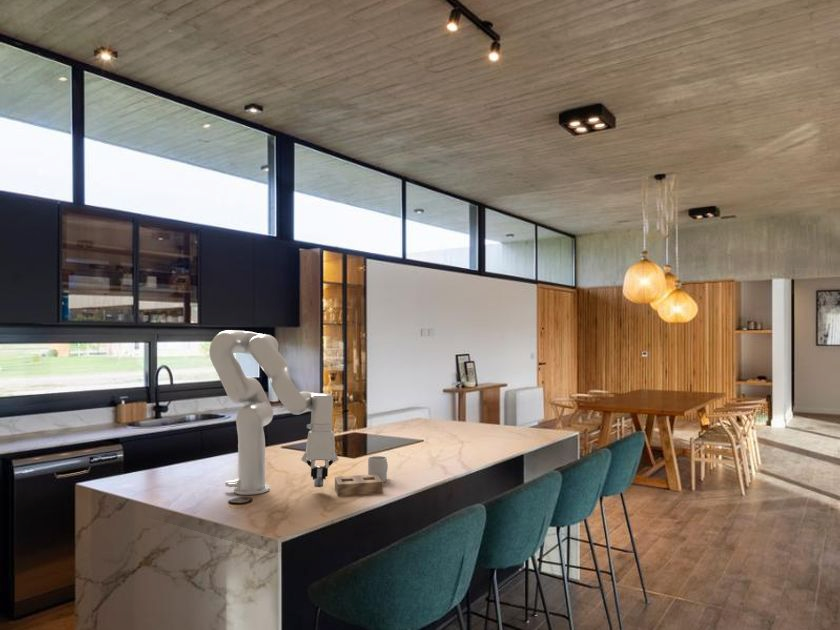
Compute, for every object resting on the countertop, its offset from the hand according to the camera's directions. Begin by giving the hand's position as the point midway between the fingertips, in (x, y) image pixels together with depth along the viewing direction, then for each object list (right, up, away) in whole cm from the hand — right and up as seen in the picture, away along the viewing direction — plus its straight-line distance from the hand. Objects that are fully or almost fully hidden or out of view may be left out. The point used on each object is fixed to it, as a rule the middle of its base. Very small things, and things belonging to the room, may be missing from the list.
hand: (319, 478), depth 222 cm
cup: (+21, -6, +18) cm, 28 cm away
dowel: (0, -3, 0) cm, 3 cm away
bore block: (+14, -5, +3) cm, 15 cm away
